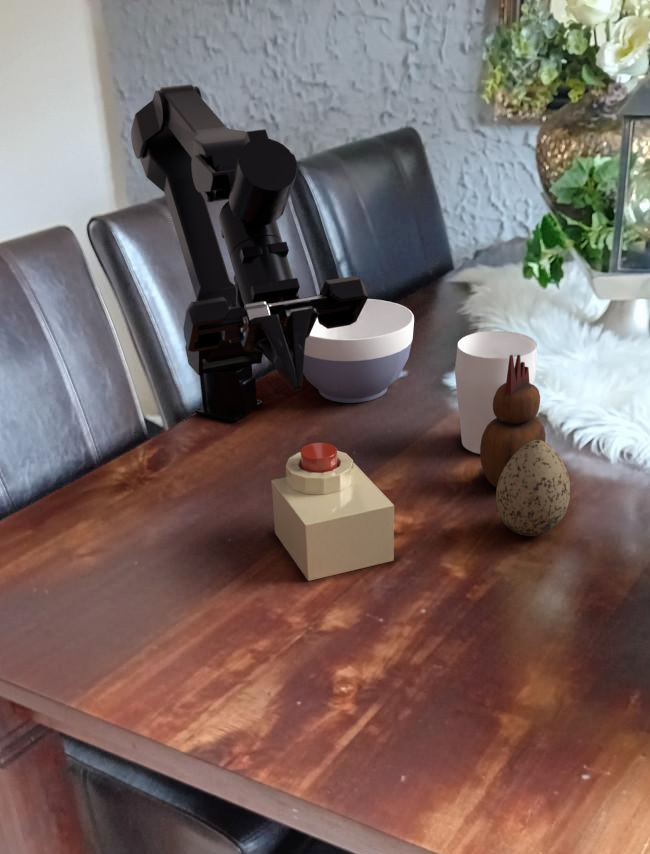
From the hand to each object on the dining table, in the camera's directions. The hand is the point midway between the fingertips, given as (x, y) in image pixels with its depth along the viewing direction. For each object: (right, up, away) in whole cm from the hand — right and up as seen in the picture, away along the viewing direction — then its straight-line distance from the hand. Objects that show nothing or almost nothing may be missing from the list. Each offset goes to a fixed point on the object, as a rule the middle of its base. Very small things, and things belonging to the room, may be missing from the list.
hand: (297, 389), depth 102 cm
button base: (+4, -16, -1) cm, 17 cm away
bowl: (+7, +8, +32) cm, 34 cm away
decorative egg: (+24, -15, 0) cm, 28 cm away
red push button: (+2, -8, -3) cm, 9 cm away
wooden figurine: (+23, -8, +8) cm, 26 cm away
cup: (+23, -2, +16) cm, 28 cm away
